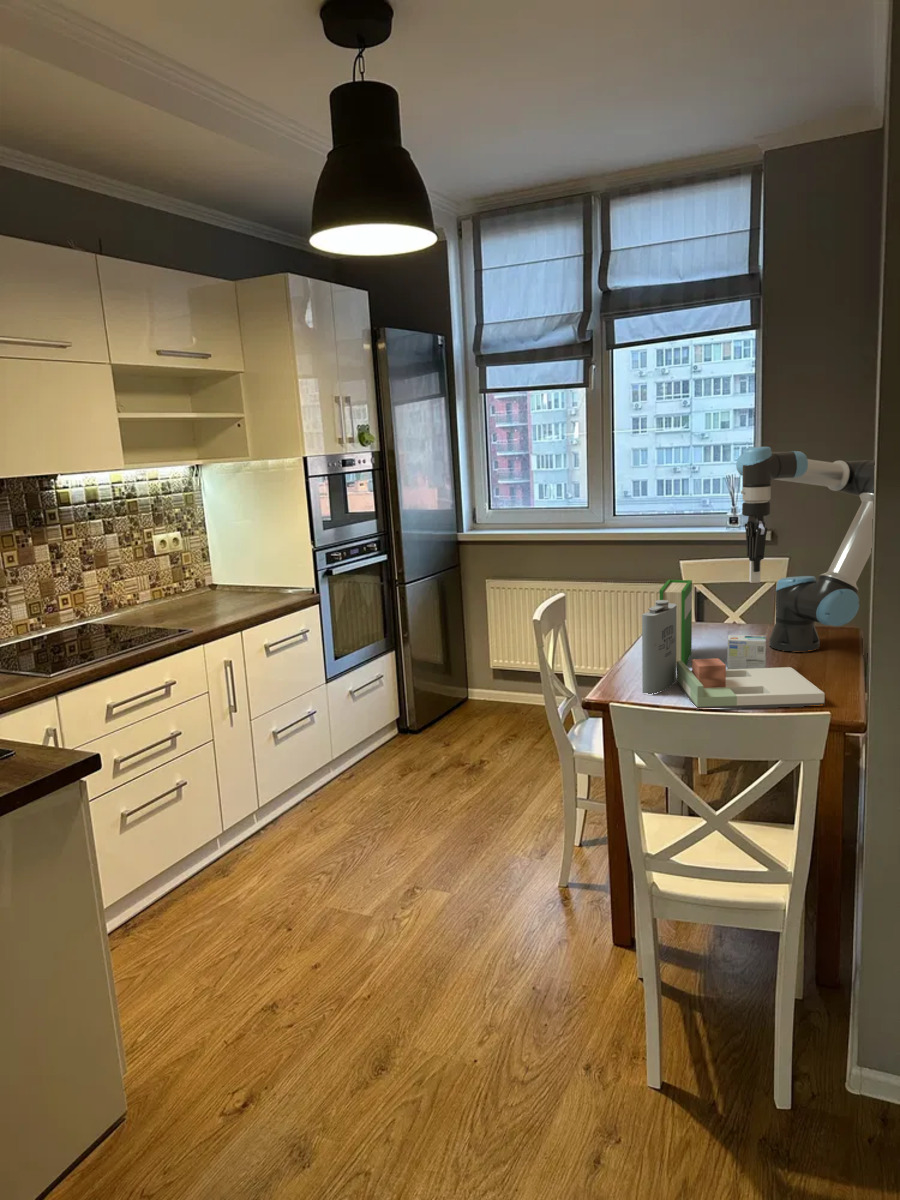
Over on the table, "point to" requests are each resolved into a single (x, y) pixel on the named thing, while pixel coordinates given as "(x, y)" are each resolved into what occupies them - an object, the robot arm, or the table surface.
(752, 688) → the box
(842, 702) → the table surface
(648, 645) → the flask
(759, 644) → the light bulb box
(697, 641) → the table surface
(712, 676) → the block
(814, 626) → the robot arm
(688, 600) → the hardback book
